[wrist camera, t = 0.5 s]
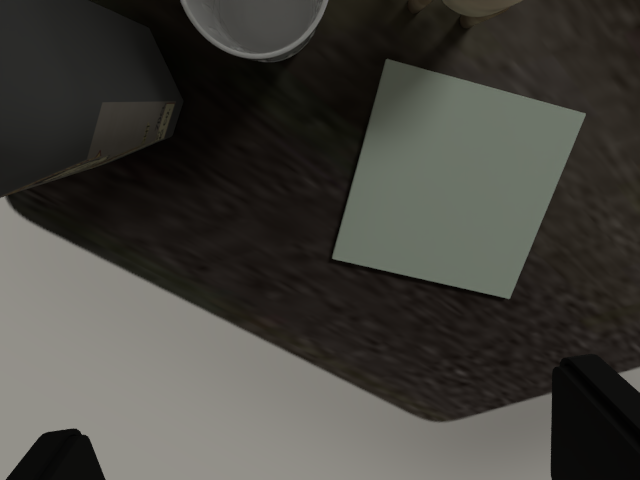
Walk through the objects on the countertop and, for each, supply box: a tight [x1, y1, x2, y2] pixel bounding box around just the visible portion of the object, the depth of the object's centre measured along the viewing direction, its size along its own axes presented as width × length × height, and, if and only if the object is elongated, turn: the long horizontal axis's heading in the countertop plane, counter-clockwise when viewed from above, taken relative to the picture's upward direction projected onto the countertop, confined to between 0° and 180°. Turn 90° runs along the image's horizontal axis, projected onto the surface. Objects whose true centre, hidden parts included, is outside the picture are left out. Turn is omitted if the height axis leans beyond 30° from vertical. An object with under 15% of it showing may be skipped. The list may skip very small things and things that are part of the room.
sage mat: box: [332, 59, 586, 299], centre depth 35 cm, size 16×16×1 cm
